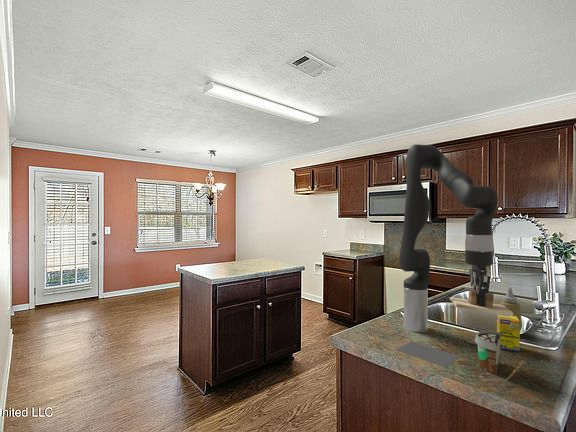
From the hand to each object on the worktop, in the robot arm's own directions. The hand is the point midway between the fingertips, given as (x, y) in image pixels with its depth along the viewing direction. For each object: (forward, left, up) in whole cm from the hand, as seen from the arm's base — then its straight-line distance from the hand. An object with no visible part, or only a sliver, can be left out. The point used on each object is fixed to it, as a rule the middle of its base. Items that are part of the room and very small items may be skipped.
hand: (479, 303), depth 99 cm
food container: (+1, +2, -20) cm, 20 cm away
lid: (0, 0, -1) cm, 1 cm away
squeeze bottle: (-33, +22, -20) cm, 44 cm away
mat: (-5, -14, -20) cm, 25 cm away
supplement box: (-17, +15, -20) cm, 30 cm away
